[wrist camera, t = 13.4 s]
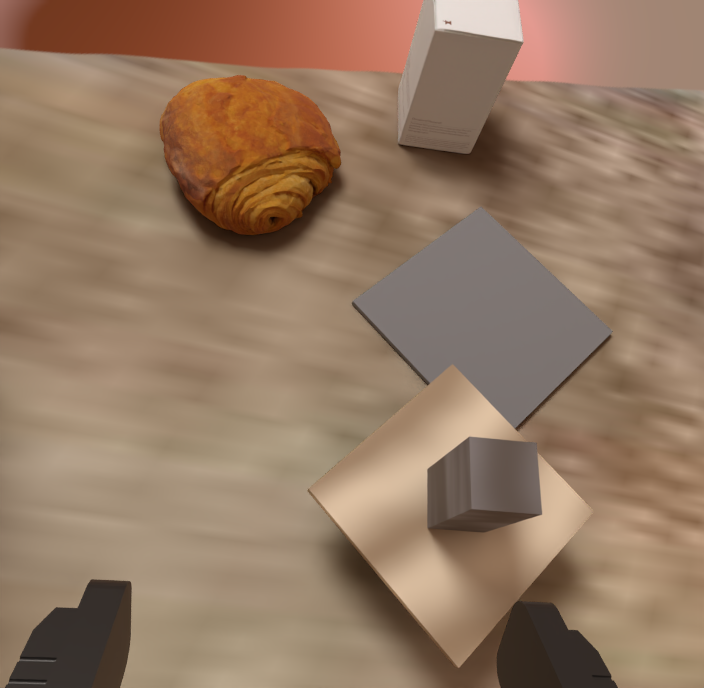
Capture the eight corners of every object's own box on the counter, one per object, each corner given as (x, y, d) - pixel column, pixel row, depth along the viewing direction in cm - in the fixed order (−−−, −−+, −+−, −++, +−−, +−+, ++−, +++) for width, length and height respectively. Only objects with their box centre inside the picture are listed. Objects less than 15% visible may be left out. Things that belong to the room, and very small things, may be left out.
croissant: (196, 267, 50) (188, 224, 43) (148, 112, 53) (132, 46, 46) (354, 228, 54) (372, 182, 46) (300, 85, 57) (309, 20, 49)
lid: (307, 490, 36) (322, 459, 28) (449, 368, 41) (495, 311, 33) (454, 666, 34) (517, 686, 26) (587, 513, 38) (674, 489, 31)
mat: (351, 303, 48) (352, 301, 48) (479, 209, 54) (480, 206, 54) (490, 451, 45) (493, 450, 45) (609, 333, 51) (612, 331, 51)
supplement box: (471, 156, 57) (526, 43, 45) (396, 145, 56) (432, 28, 45) (468, 99, 60) (519, -20, 48) (397, 88, 59) (431, -36, 48)
